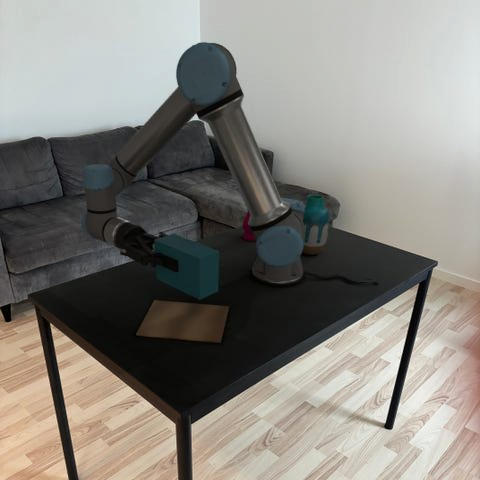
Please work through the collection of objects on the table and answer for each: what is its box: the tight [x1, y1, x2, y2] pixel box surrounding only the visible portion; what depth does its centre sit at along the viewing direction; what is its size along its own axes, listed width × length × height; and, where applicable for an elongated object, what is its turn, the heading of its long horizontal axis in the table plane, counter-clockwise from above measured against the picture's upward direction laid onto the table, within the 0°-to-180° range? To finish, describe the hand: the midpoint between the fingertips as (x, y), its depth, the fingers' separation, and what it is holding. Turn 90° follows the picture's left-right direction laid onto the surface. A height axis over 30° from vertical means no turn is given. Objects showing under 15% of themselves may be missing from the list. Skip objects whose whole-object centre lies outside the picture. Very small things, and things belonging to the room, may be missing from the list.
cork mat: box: [135, 299, 230, 344], centre depth 119 cm, size 20×17×1 cm
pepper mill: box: [242, 210, 256, 242], centre depth 165 cm, size 7×7×20 cm
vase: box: [301, 193, 330, 256], centre depth 156 cm, size 11×11×19 cm
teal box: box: [152, 233, 220, 300], centre depth 111 cm, size 18×6×10 cm, turn 48°
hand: (188, 262), depth 109 cm, fingers closed on teal box, 6 cm apart
